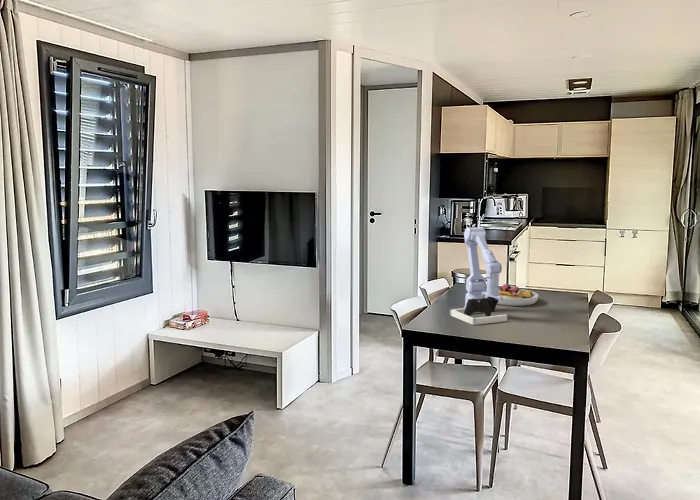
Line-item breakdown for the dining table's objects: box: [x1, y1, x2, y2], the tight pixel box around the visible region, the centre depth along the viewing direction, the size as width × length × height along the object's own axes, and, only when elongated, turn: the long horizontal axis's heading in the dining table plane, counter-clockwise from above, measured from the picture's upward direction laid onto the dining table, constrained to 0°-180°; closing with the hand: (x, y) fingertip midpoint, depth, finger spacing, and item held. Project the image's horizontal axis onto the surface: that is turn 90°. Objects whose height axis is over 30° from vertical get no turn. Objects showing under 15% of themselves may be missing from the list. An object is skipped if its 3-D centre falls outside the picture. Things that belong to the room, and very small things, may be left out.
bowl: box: [484, 283, 539, 307], centre depth 318 cm, size 30×30×8 cm
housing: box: [449, 307, 508, 326], centre depth 279 cm, size 20×20×3 cm
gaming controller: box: [464, 297, 492, 317], centre depth 279 cm, size 14×6×10 cm, turn 100°
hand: (491, 311), depth 282 cm, fingers closed
